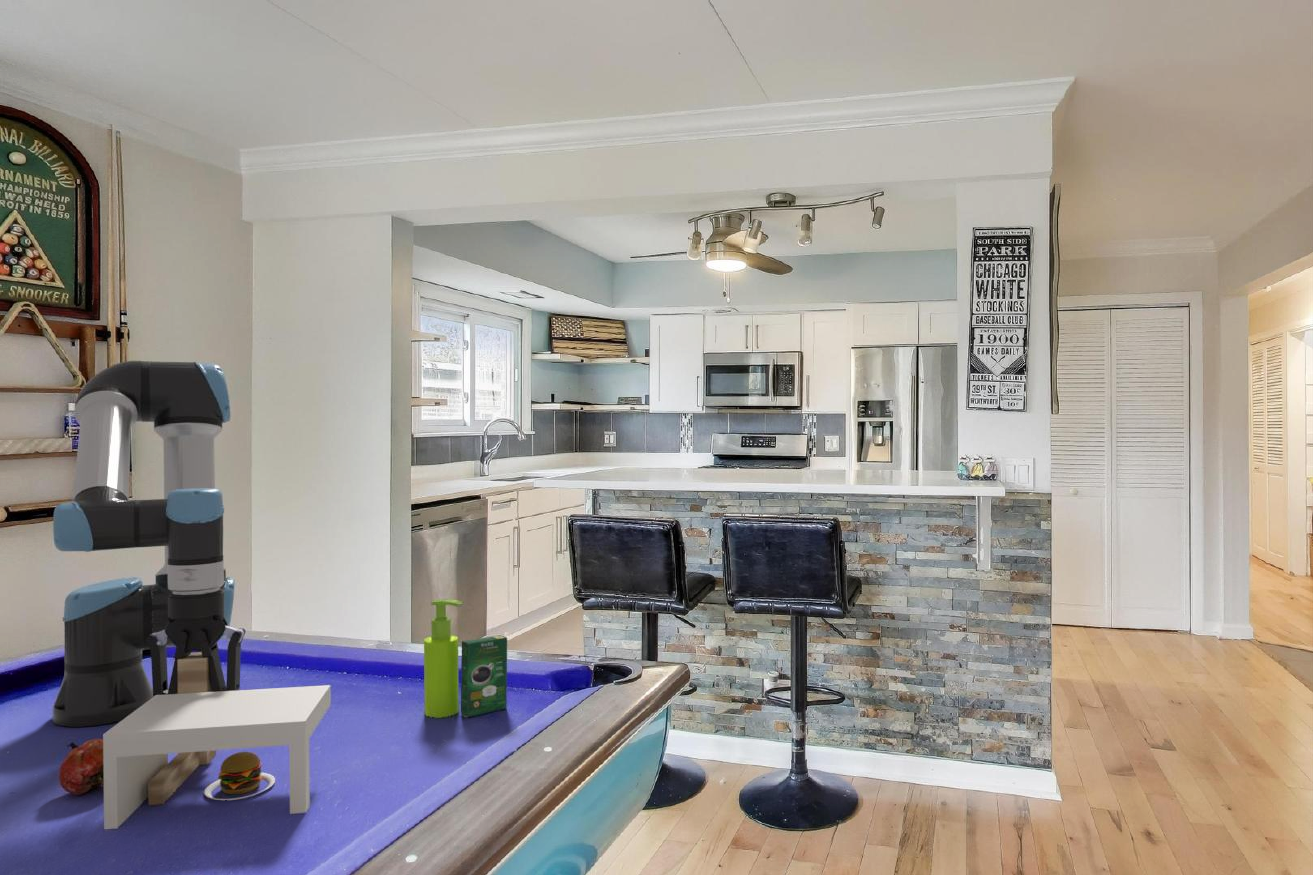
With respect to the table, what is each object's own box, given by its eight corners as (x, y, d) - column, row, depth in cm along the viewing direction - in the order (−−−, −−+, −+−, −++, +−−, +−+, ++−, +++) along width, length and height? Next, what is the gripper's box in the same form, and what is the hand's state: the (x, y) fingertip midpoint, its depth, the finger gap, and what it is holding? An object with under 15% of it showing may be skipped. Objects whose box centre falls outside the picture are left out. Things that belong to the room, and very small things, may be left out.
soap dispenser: (455, 719, 145) (454, 604, 144) (418, 716, 146) (417, 602, 146) (469, 708, 150) (468, 597, 150) (434, 705, 152) (433, 596, 152)
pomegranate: (132, 797, 119) (99, 746, 123) (144, 765, 116) (109, 713, 120) (75, 824, 113) (41, 769, 116) (86, 790, 110) (51, 735, 113)
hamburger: (193, 820, 108) (193, 778, 108) (189, 787, 119) (188, 749, 119) (293, 798, 115) (292, 759, 115) (280, 769, 125) (280, 732, 125)
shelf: (156, 777, 120) (155, 695, 120) (331, 764, 125) (330, 684, 125) (104, 829, 105) (103, 734, 105) (306, 812, 109) (305, 721, 109)
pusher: (188, 756, 129) (187, 652, 129) (216, 754, 129) (215, 651, 129) (139, 805, 111) (138, 686, 111) (172, 803, 112) (170, 684, 112)
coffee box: (500, 704, 152) (500, 633, 152) (508, 708, 150) (508, 636, 150) (460, 714, 147) (459, 640, 147) (467, 718, 145) (466, 643, 145)
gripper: (123, 597, 122) (125, 756, 122) (248, 592, 125) (250, 748, 125) (145, 587, 129) (146, 738, 129) (263, 583, 132) (264, 730, 132)
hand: (197, 742), depth 127 cm, fingers closed on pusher, 4 cm apart
